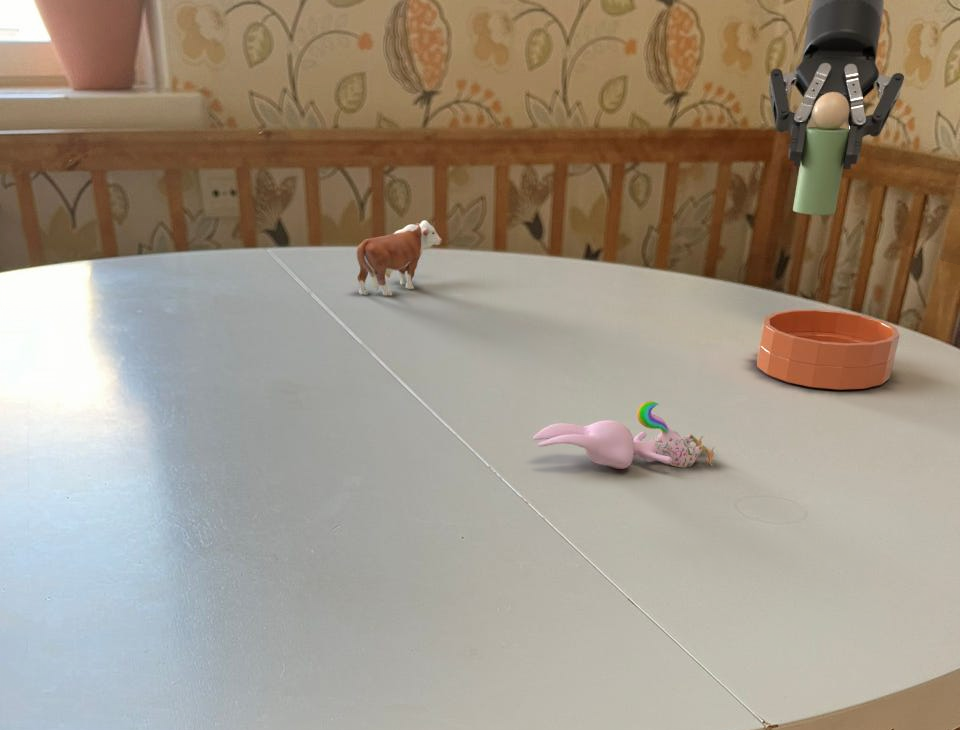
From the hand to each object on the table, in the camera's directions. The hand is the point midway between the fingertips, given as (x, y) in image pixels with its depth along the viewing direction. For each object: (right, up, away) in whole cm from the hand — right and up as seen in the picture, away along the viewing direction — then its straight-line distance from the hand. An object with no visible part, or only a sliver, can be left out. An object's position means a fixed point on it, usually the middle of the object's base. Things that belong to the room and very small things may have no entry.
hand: (822, 162), depth 108 cm
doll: (0, -3, +4) cm, 5 cm away
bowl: (0, -22, +1) cm, 22 cm away
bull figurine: (-46, -5, +27) cm, 54 cm away
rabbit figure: (-24, -36, -22) cm, 48 cm away
